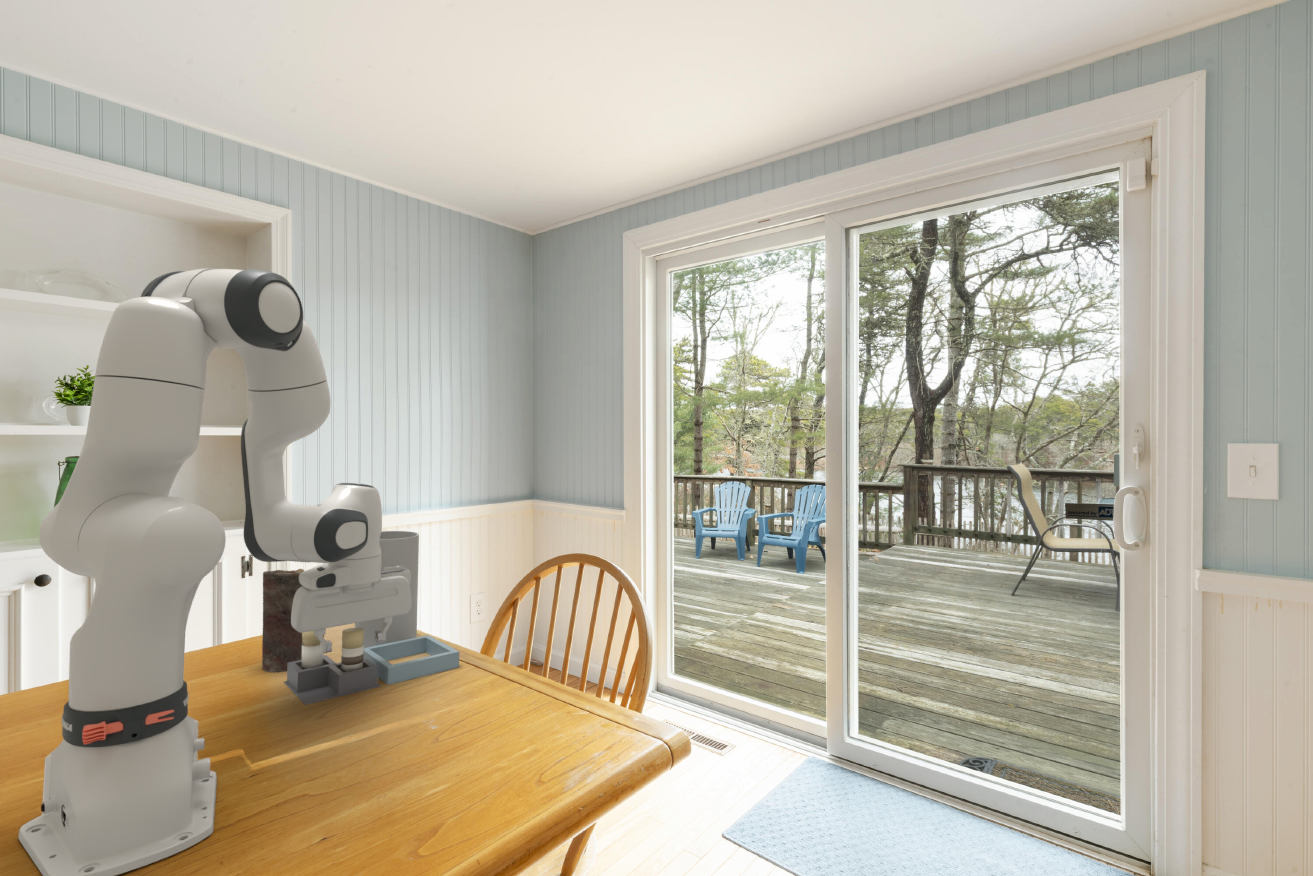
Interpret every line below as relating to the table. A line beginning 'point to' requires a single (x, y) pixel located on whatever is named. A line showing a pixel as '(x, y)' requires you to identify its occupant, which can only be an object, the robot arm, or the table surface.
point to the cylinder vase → (405, 552)
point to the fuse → (311, 651)
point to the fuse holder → (329, 680)
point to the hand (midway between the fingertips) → (353, 646)
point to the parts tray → (390, 674)
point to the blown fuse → (352, 649)
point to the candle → (279, 620)
